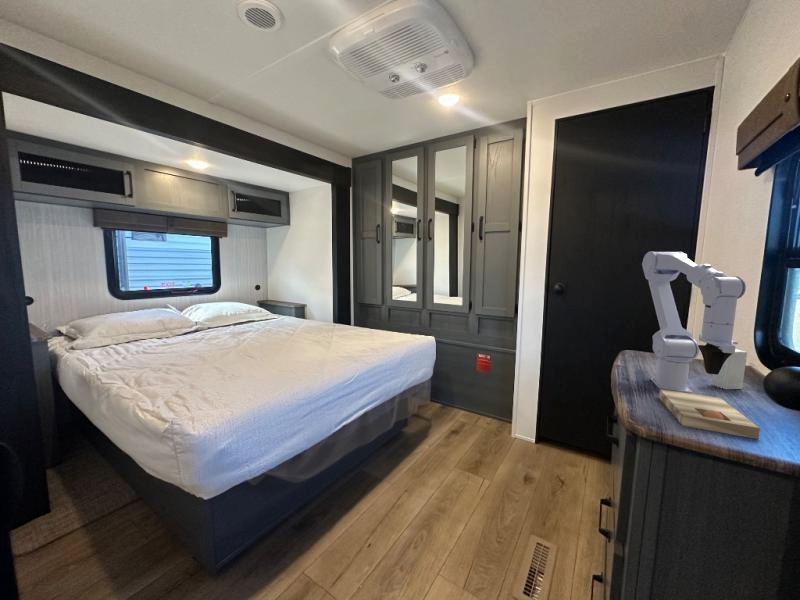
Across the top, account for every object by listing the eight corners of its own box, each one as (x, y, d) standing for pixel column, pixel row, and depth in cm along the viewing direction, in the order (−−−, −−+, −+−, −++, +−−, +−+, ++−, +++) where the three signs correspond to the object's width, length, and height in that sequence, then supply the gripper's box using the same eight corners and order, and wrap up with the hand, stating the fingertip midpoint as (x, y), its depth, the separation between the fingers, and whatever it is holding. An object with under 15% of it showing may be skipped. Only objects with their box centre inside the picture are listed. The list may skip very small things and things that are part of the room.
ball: (706, 408, 75) (706, 424, 74) (726, 412, 73) (727, 428, 72) (699, 408, 78) (700, 423, 77) (718, 411, 76) (719, 427, 76)
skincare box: (727, 384, 102) (731, 347, 101) (743, 389, 98) (748, 351, 97) (710, 384, 102) (714, 348, 100) (725, 390, 97) (730, 351, 96)
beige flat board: (658, 397, 91) (659, 389, 91) (719, 406, 86) (720, 397, 85) (682, 425, 75) (683, 415, 75) (758, 439, 69) (760, 428, 69)
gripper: (755, 329, 74) (747, 385, 76) (724, 320, 87) (718, 367, 89) (715, 326, 77) (709, 380, 79) (691, 317, 90) (686, 364, 92)
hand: (711, 373), depth 84 cm, fingers closed
